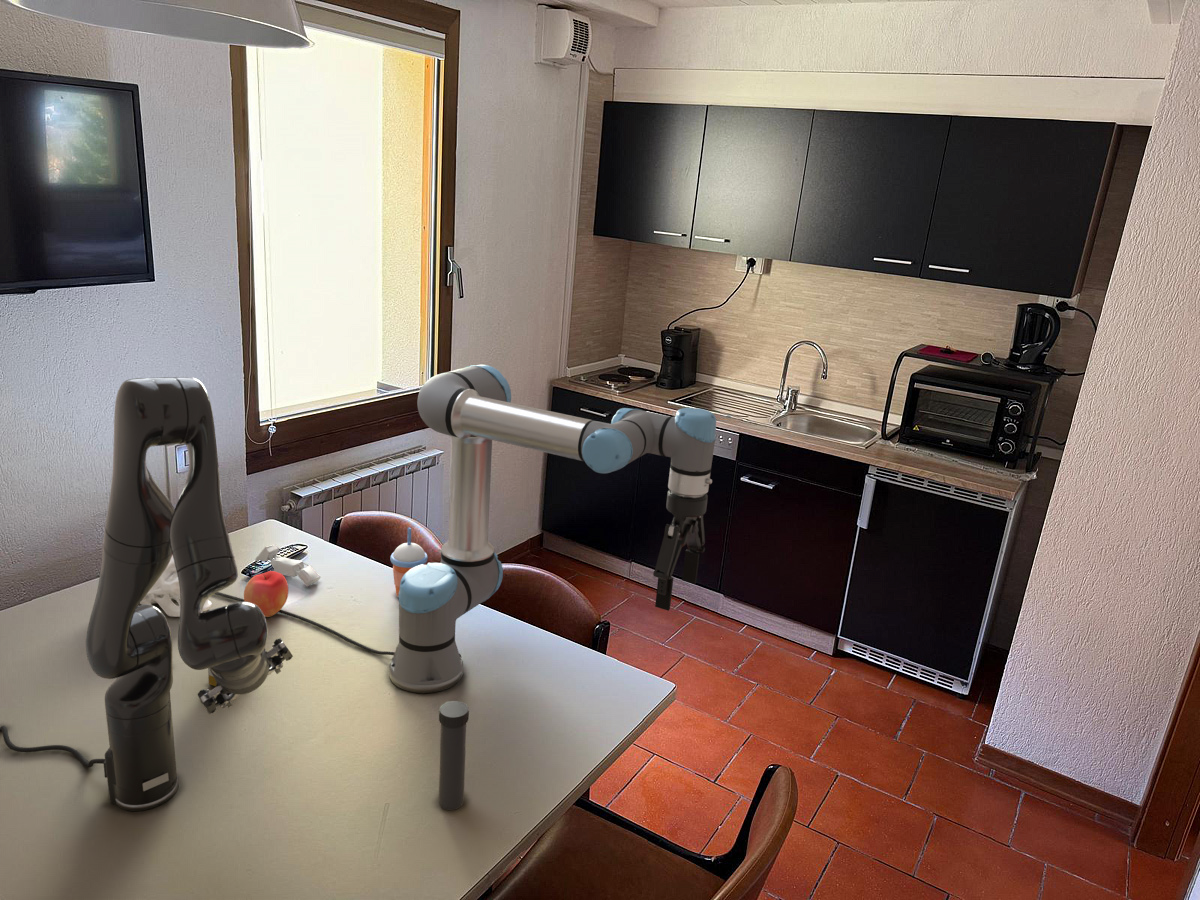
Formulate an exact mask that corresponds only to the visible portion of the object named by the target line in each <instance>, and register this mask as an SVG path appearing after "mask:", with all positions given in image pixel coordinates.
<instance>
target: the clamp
mask: <svg viewBox="0 0 1200 900" xmlns="http://www.w3.org/2000/svg"><path fill="white" fill-rule="evenodd" d="M280 549H281V547H279V546H278V545H277V544H272V545H266V546H264V547H263V549H262V550H261V551H260V552H259V554H258V555H257V556H256V557H255V559H254V562H255V563H256V561H259V560H262V561H268V560H271V562H270V563H269V564H271V565H272V566H273V568H274V571H275V572H278V573H281V574H282V575H283V576H288V577H292V578H296V577H298V578H299V579H300V580H301V582H303V584H304V585H305V587H309V586H312V585H314V584H316V583H318V582H319V580H320V579H321V578H322V577H321V575H320V574H319V573H318V572H317V570H315V569H314V568H313V566H312V565H310V564H309V565H308V564H307V563H305V562H304V561H303V560H301V559H300V560H299V559H292V558H289V557H285V556H278V553H279V551H280ZM273 558H274V559H273ZM272 559H273V560H272ZM305 566H306V567H305ZM270 571H271V570H270Z"/></svg>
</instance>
